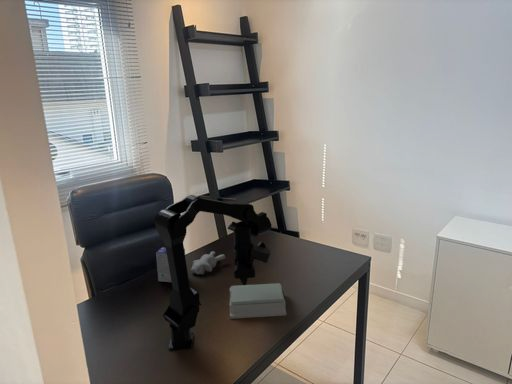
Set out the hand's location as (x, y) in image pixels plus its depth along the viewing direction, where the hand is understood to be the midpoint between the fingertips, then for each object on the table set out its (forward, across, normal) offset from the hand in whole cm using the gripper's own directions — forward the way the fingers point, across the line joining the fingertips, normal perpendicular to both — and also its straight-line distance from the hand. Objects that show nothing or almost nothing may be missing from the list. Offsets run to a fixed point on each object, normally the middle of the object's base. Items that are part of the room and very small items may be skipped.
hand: (244, 284), depth 122 cm
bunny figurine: (+9, +30, +14) cm, 35 cm away
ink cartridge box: (+9, +22, +27) cm, 36 cm away
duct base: (+8, +2, -4) cm, 9 cm away
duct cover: (+5, +1, -4) cm, 6 cm away
